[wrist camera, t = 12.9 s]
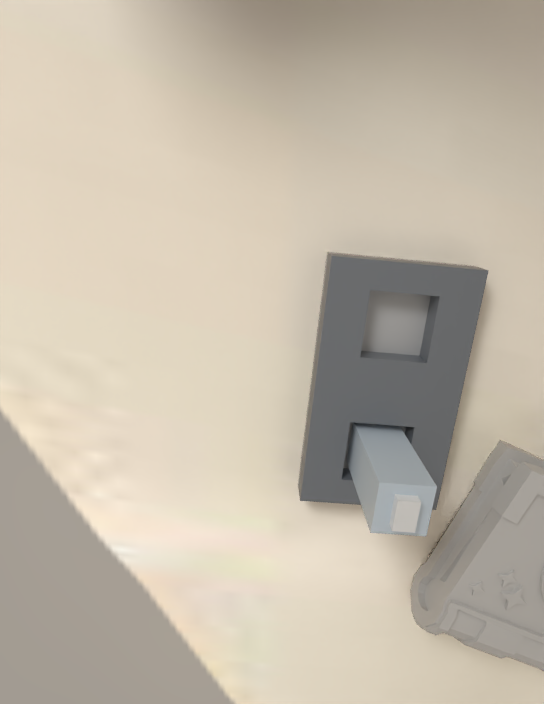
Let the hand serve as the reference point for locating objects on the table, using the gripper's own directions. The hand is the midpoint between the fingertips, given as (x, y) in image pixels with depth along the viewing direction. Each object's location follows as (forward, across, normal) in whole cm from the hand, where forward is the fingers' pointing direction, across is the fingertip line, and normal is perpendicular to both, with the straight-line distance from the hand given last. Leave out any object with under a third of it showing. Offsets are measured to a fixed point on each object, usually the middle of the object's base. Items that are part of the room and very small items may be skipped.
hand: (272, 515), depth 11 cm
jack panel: (+32, +11, -8) cm, 34 cm away
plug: (+31, +11, -14) cm, 36 cm away
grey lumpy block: (+32, +32, -25) cm, 52 cm away
